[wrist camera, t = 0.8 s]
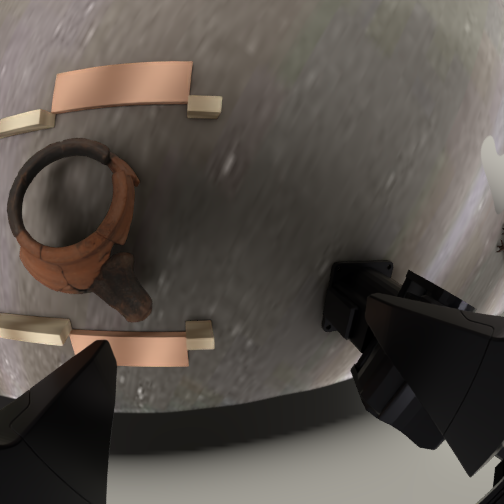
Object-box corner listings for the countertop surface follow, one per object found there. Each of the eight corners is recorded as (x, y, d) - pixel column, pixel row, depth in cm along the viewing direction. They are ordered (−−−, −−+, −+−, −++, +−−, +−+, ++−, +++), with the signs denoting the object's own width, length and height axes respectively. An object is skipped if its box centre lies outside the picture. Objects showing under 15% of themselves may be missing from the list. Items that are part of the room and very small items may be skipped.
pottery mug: (21, 240, 17) (-28, 203, 9) (100, 163, 21) (88, 99, 13) (118, 351, 18) (99, 371, 11) (198, 261, 22) (226, 230, 14)
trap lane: (221, 66, 16) (229, 44, 13) (211, 359, 23) (217, 391, 19) (-27, 104, 11) (-54, 99, 8) (0, 346, 18) (-17, 369, 14)
